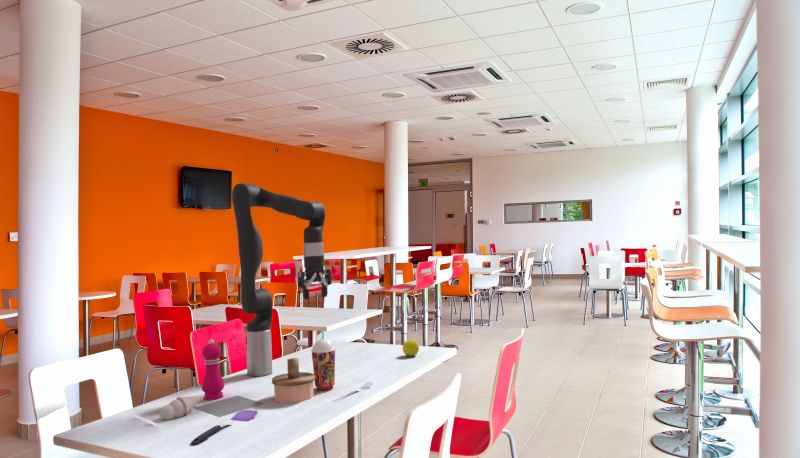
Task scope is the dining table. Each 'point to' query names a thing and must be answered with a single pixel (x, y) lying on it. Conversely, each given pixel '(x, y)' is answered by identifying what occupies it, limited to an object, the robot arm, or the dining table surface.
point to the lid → (293, 375)
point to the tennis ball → (410, 348)
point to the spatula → (240, 416)
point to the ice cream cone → (179, 407)
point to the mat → (228, 406)
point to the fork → (353, 391)
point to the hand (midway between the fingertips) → (315, 298)
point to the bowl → (293, 393)
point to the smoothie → (324, 364)
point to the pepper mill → (212, 372)
